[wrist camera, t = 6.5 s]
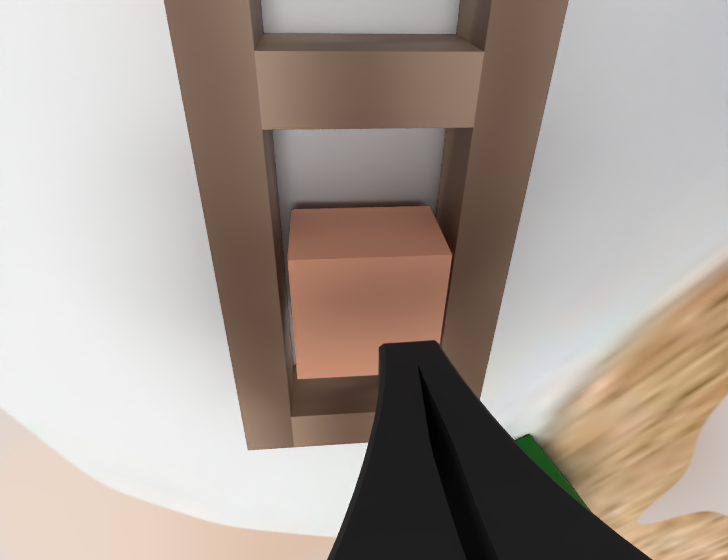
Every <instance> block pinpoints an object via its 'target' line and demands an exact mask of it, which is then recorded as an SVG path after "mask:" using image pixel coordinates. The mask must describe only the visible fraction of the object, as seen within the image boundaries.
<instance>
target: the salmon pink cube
mask: <svg viewBox="0 0 728 560" xmlns="http://www.w3.org/2000/svg"><path fill="white" fill-rule="evenodd" d="M451 260H452V253H451V251H450V249H449V247H448V244H447V242H446V240H445V238H444V236H443V233H442V231H441V229H440V227H439V225H438V223H437V220H436V218H435V216H434V214H433V212H432V209H431V207H430V206H405V207H363V208H322V209H291V219H290V233H289V247H288V272H289V283H290V295H291V307H292V319H293V331H294V343H295V355H296V367H297V379H311V378H330V377H349V376H368V375H378V365H379V347H380V346H381V345H382V344H383V343H397V342H413V341H428V340H435V341H437V342H438V343H439V344H440V338H441V331H442V324H443V317H444V310H445V303H446V295H447V288H448V281H449V274H450V267H451Z"/></svg>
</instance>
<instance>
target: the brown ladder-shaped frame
mask: <svg viewBox="0 0 728 560" xmlns="http://www.w3.org/2000/svg"><path fill="white" fill-rule="evenodd" d="M568 1H569V0H460V8H459V16H458V25H457V34H297V33H263V22H262V10H261V0H164V4H165V9H166V14H167V20H168V25H169V30H170V36H171V41H172V46H173V52H174V57H175V62H176V68H177V73H178V79H179V84H180V89H181V95H182V100H183V105H184V111H185V116H186V121H187V127H188V132H189V137H190V143H191V148H192V153H193V159H194V164H195V169H196V175H197V180H198V186H199V191H200V196H201V202H202V207H203V212H204V218H205V223H206V228H207V234H208V239H209V244H210V250H211V255H212V260H213V266H214V271H215V277H216V282H217V287H218V293H219V298H220V303H221V309H222V314H223V319H224V325H225V330H226V335H227V341H228V346H229V351H230V357H231V362H232V367H233V373H234V378H235V384H236V389H237V394H238V400H239V405H240V410H241V416H242V421H243V426H244V432H245V437H246V442H247V448H248V450H259V449H274V448H290V447H305V446H321V445H336V444H351V443H367V442H369V438H370V434H371V430H372V426H373V422H374V417H375V411H376V405H377V399H378V375H368V376H349V377H330V378H311V379H297V367H296V366H293V359H292V347H291V336H290V325H289V314H288V302H287V291H286V280H285V269H284V258H283V246H282V235H281V224H280V213H279V201H278V190H277V179H276V168H275V156H274V145H273V134H272V129H370V128H446V131H445V140H444V149H443V158H442V167H441V176H440V184H439V193H438V202H437V211H436V220H437V223H438V225H439V227H440V229H441V231H442V233H443V236H444V238H445V240H446V242H447V244H448V247H449V249H450V251H451V253H452V260H451V267H450V274H449V281H448V288H447V295H446V303H445V310H444V317H443V324H442V331H441V338H440V346H441V348H442V349H443V351H444V352H445V354H446V355H447V357H448V358H449V360H450V361H451V363H452V364H453V365H454V367H455V368H456V370H457V371H458V372H459V374H460V375H461V377H462V378H463V379H464V381H465V382H466V383H467V385H468V386H469V387H470V389H471V390H472V391H473V392H474V394H475V395H476V396H477V397H478V399H479V400H480V396H481V391H482V387H483V382H484V378H485V373H486V369H487V364H488V360H489V355H490V351H491V346H492V342H493V338H494V333H495V329H496V324H497V320H498V315H499V311H500V306H501V302H502V297H503V293H504V288H505V284H506V279H507V275H508V270H509V266H510V261H511V257H512V252H513V248H514V243H515V239H516V234H517V230H518V225H519V221H520V216H521V212H522V207H523V203H524V198H525V194H526V189H527V185H528V180H529V176H530V171H531V167H532V162H533V158H534V153H535V149H536V144H537V140H538V135H539V131H540V126H541V122H542V117H543V113H544V108H545V104H546V99H547V95H548V90H549V86H550V81H551V77H552V73H553V68H554V64H555V59H556V55H557V50H558V46H559V41H560V37H561V32H562V28H563V23H564V19H565V14H566V10H567V5H568Z"/></svg>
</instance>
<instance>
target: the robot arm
mask: <svg viewBox="0 0 728 560" xmlns="http://www.w3.org/2000/svg"><path fill="white" fill-rule="evenodd" d="M327 560H652V559H651V558H649V557H648V556H647V555H645V554H644V553H643V552H641V551H640V550H639V549H637V548H636V547H635V546H633V545H632V544H631V543H629V542H628V541H627V540H625V539H624V538H623V537H621V536H620V535H619V534H618V533H616V532H615V531H614V530H613V529H611V528H610V527H609V526H608V525H607V524H605V523H604V522H603V521H602V520H600V519H599V518H598V517H597V516H596V515H594V514H593V513H592V512H591V511H589V510H588V509H587V508H586V507H585V506H583V505H582V504H581V503H580V502H578V501H577V500H576V499H575V498H574V497H573V496H571V495H570V494H569V493H568V492H567V491H566V490H565V489H564V488H563V487H561V486H560V485H559V484H558V483H557V482H556V481H555V480H554V479H553V478H552V477H550V476H549V475H548V474H547V473H546V472H545V471H544V470H543V469H542V468H541V467H540V466H539V465H538V464H537V463H536V462H535V461H534V460H533V459H532V458H531V457H530V456H529V455H528V454H527V453H526V452H525V451H524V450H523V449H522V448H521V447H520V446H519V445H518V444H517V443H516V442H515V440H514V439H513V438H512V437H511V436H510V435H509V434H508V433H507V432H506V431H505V429H504V428H503V427H502V426H501V425H500V424H499V423H498V422H497V420H496V419H495V418H494V417H493V416H492V415H491V413H490V412H489V411H488V410H487V408H486V407H485V406H484V405H483V404H482V402H481V401H480V400H479V399H478V397H477V396H476V395H475V394H474V392H473V391H472V390H471V389H470V387H469V386H468V385H467V383H466V382H465V381H464V379H463V378H462V377H461V375H460V374H459V372H458V371H457V370H456V368H455V367H454V365H453V364H452V363H451V361H450V360H449V358H448V357H447V355H446V354H445V352H444V351H443V349H442V348H441V346H440V344H439V343H438V342H437V341H435V340H428V341H413V342H397V343H383V344H382V345H381V346H380V347H379V365H378V399H377V405H376V411H375V417H374V422H373V426H372V430H371V434H370V438H369V442H368V447H367V450H366V454H365V458H364V461H363V465H362V468H361V471H360V474H359V478H358V481H357V484H356V487H355V490H354V493H353V496H352V498H351V501H350V504H349V507H348V510H347V512H346V515H345V518H344V520H343V523H342V526H341V528H340V531H339V533H338V536H337V538H336V541H335V543H334V545H333V548H332V550H331V552H330V554H329V557H328V559H327Z"/></svg>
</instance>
